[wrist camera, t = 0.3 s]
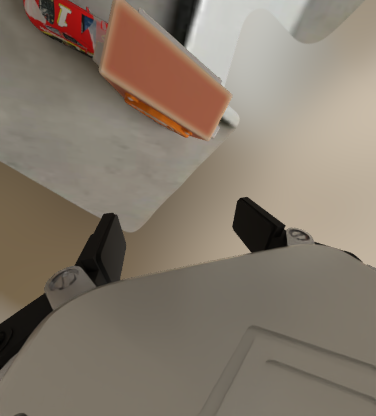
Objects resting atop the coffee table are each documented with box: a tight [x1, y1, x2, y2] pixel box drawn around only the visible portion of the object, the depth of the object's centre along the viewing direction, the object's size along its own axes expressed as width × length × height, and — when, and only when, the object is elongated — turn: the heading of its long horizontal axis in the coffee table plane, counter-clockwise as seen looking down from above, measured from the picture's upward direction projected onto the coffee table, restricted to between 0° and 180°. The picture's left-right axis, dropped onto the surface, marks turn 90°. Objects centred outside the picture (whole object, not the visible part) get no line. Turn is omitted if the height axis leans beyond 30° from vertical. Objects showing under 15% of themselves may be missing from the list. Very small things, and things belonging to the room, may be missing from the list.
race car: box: [23, 0, 108, 58], centre depth 23 cm, size 13×5×4 cm, turn 68°
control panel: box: [93, 0, 232, 141], centre depth 23 cm, size 21×7×15 cm
